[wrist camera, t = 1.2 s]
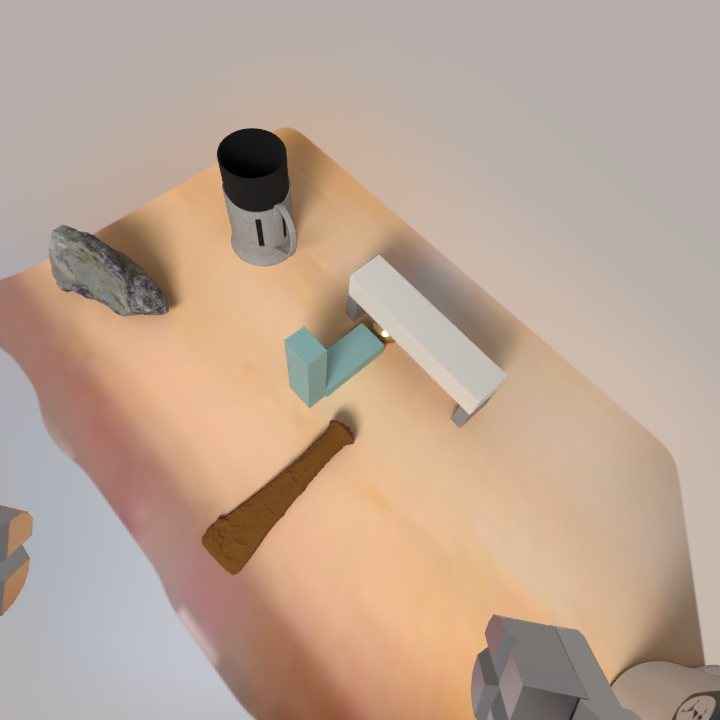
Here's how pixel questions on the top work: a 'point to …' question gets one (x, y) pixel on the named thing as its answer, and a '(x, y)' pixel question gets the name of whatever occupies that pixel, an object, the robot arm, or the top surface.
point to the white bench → (425, 336)
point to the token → (381, 333)
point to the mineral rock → (103, 274)
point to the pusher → (327, 361)
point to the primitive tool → (270, 503)
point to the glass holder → (257, 196)
